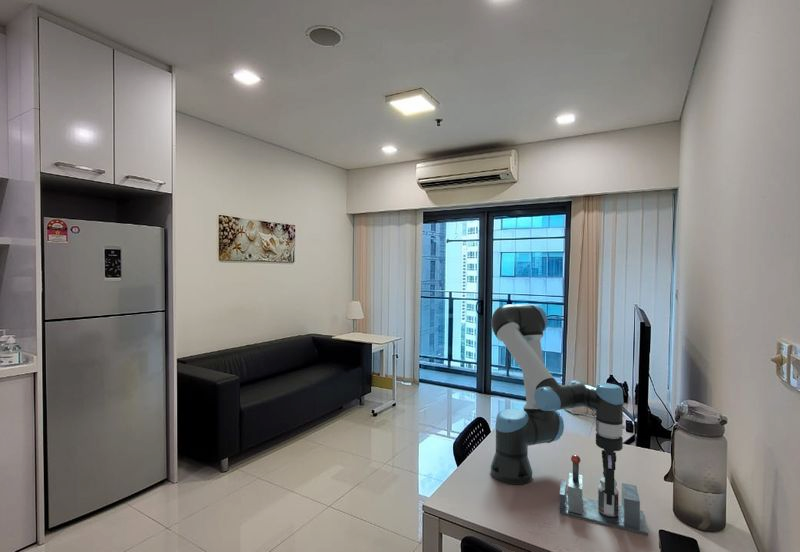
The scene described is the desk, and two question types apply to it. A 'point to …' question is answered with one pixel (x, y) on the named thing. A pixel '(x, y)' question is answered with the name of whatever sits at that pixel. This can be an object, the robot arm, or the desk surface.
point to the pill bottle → (601, 497)
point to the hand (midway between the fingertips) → (608, 507)
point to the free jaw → (575, 487)
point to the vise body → (626, 518)
